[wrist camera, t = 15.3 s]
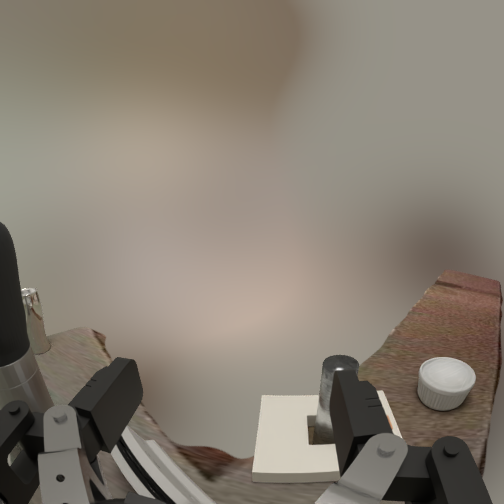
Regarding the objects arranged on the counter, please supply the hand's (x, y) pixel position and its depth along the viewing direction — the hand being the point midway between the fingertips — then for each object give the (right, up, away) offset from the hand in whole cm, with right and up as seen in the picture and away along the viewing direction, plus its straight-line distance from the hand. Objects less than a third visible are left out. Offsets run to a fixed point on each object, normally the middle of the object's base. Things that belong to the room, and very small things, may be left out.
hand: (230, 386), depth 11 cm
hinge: (-10, -25, +16) cm, 31 cm away
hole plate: (+12, -22, +25) cm, 35 cm away
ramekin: (+34, -21, +29) cm, 50 cm away
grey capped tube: (+12, -22, +25) cm, 35 cm away
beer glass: (-52, -19, +46) cm, 72 cm away
